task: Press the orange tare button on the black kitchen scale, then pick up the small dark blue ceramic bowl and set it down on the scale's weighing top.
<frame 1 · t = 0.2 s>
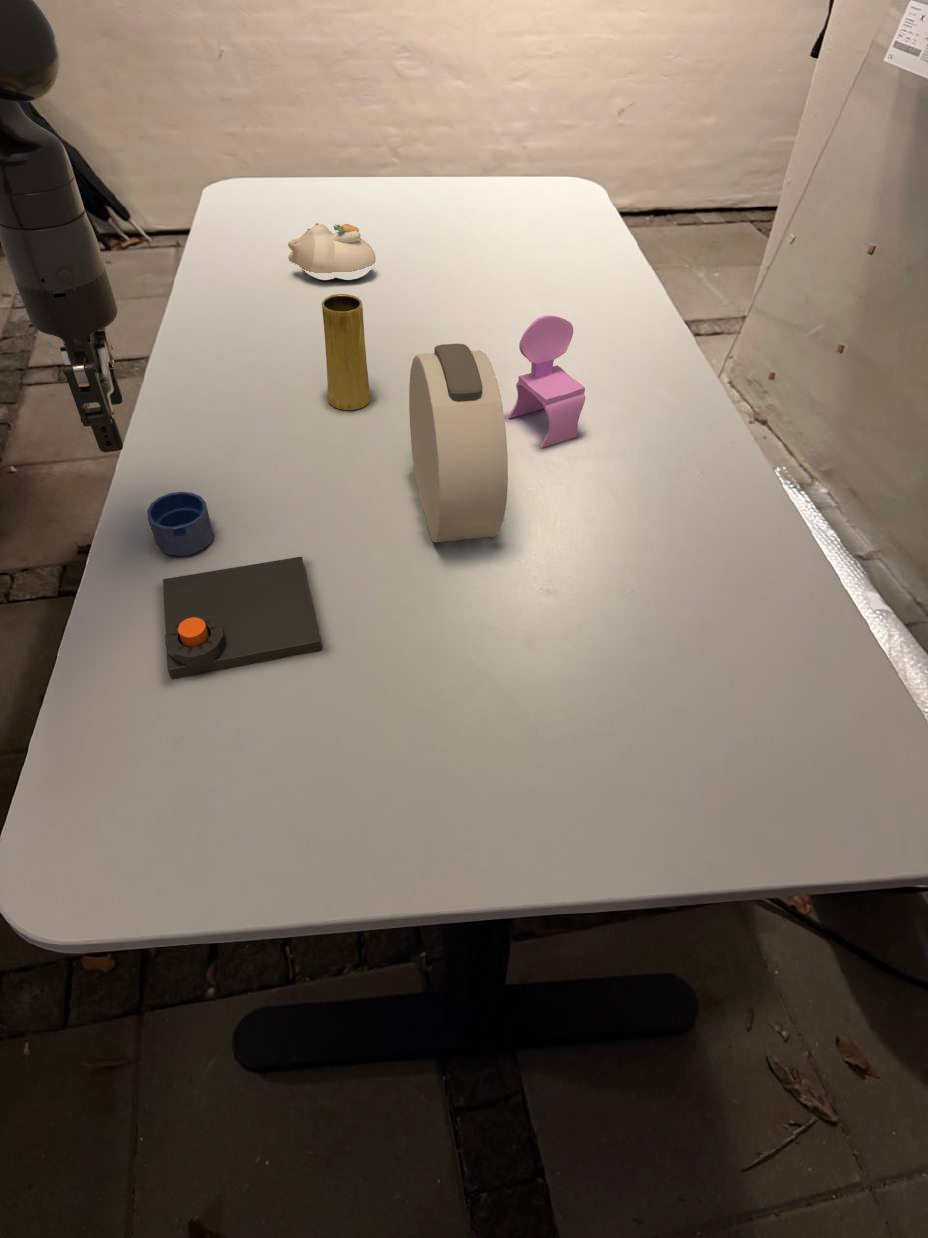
hand: (112, 425, 80), 15 cm above the table, tool pointing down, fingers open, 8 cm apart
scale: (241, 618, 82), on the table
alarm clock: (452, 504, 97), on the table
vase: (349, 400, 111), on the table
cat figurine: (333, 278, 137), on the table
tare button: (193, 632, 76), point 3 cm above the table, slide at 0.1 cm
toy chair: (543, 428, 109), on the table
bowl: (185, 539, 90), on the table
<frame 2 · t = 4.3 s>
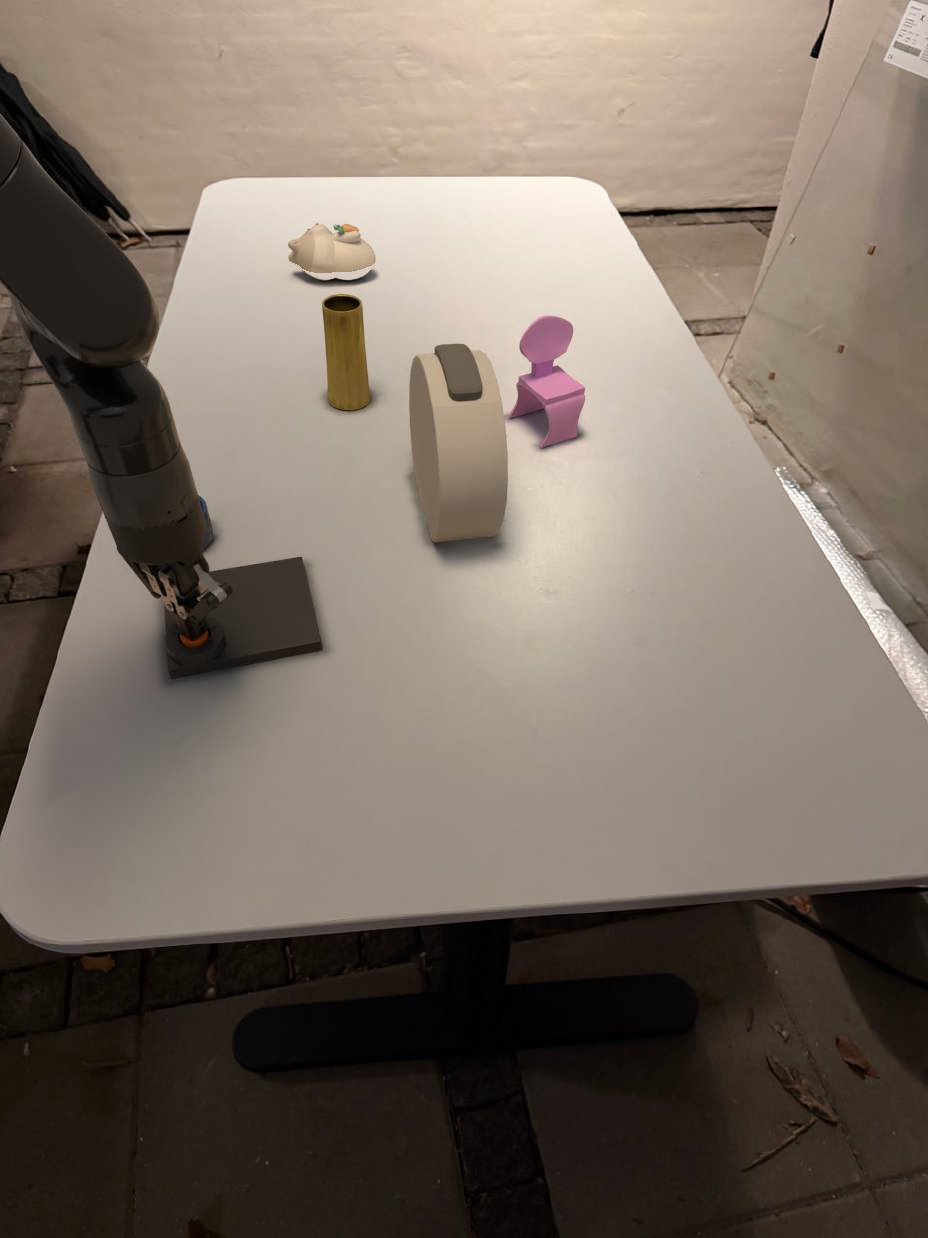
hand: (195, 633, 76), 3 cm above the table, tool pointing down, fingers closed
tare button: (195, 637, 77), point 3 cm above the table, slide at -0.7 cm, touching gripper
everything else where it was.
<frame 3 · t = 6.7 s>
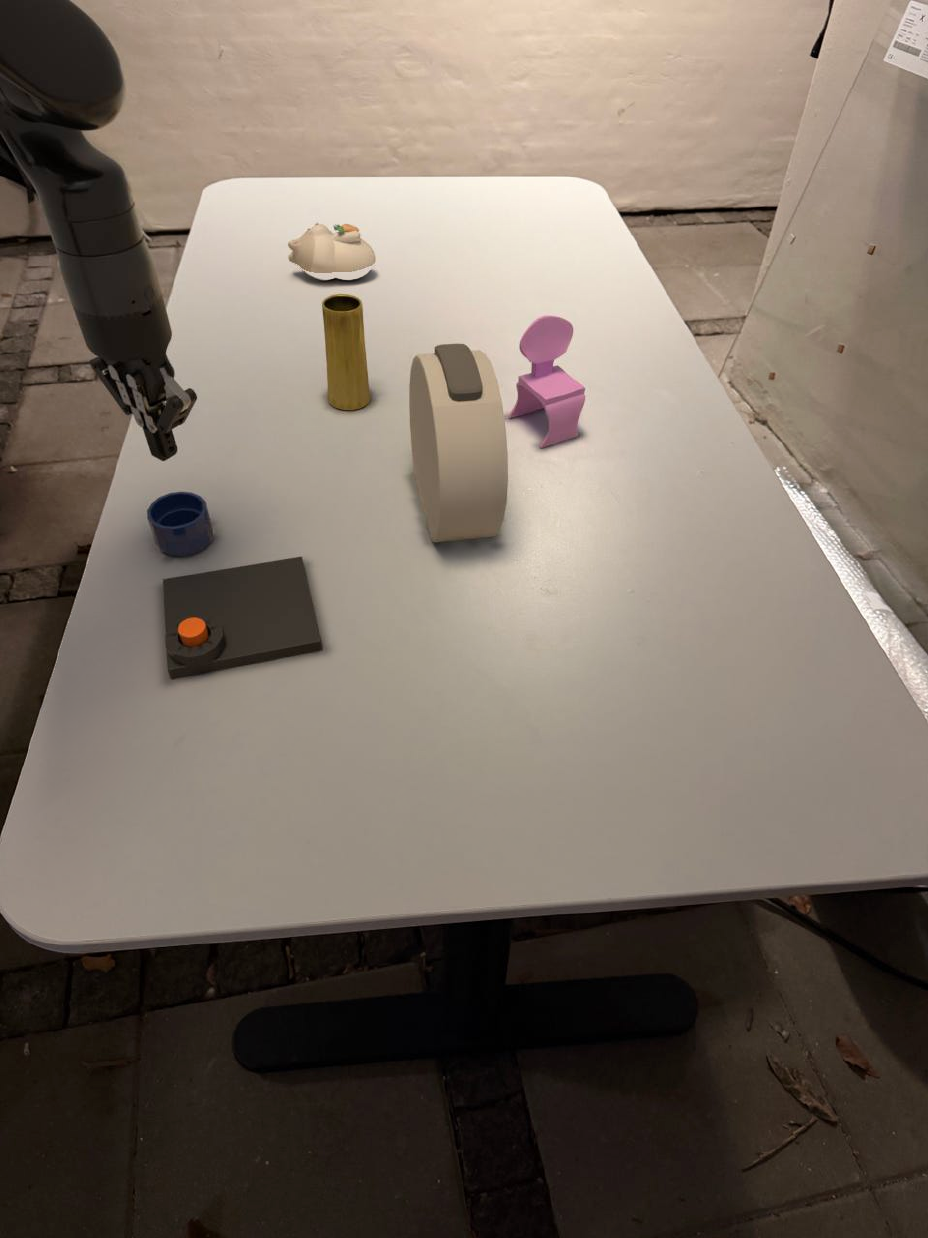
hand: (165, 455, 81), 12 cm above the table, tool pointing down, fingers closed
tare button: (193, 632, 76), point 3 cm above the table, slide at 0.1 cm
everything else where it was.
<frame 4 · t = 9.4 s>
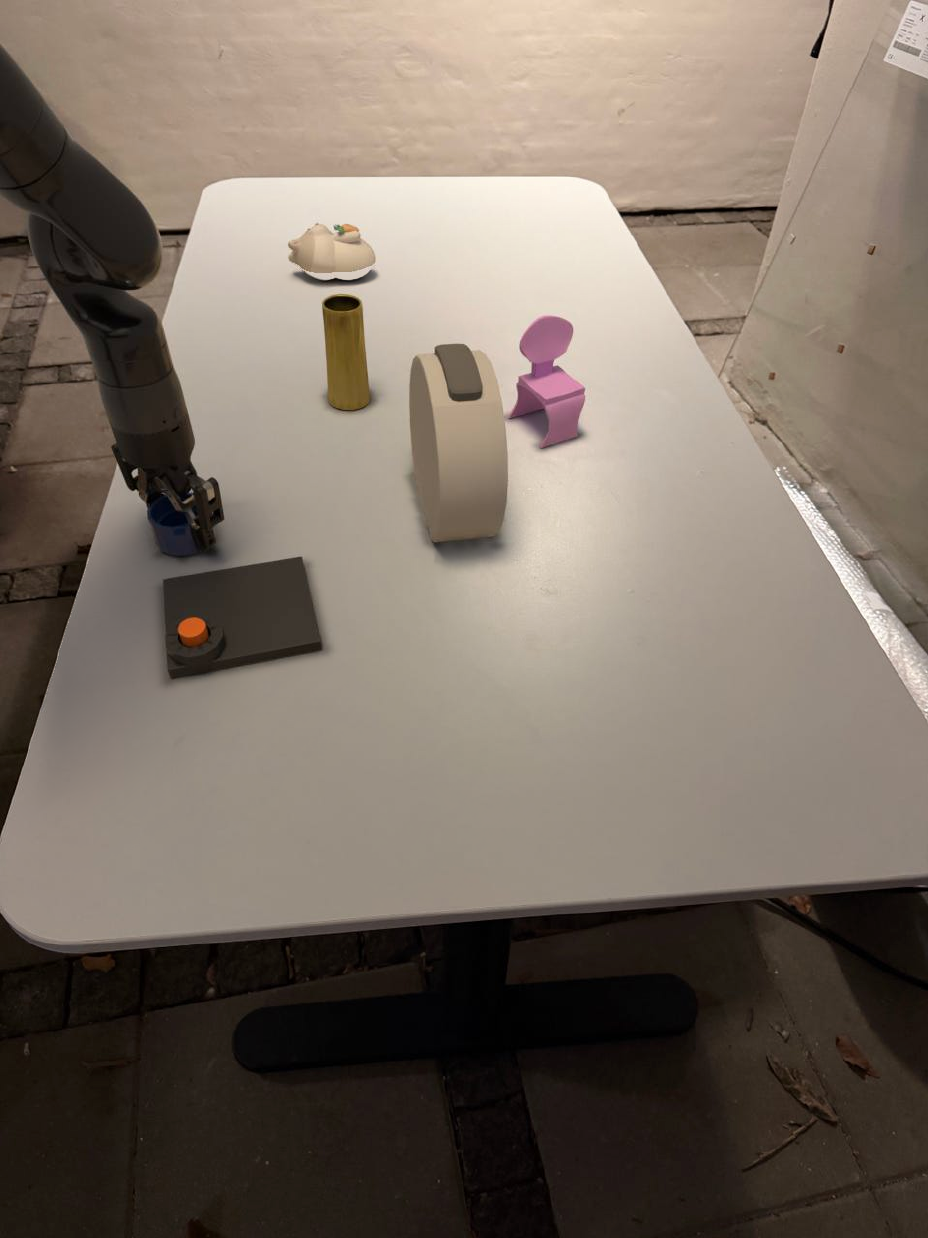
hand: (184, 534, 90), 1 cm above the table, tool pointing down, fingers closed on bowl, 6 cm apart
bowl: (185, 539, 90), on the table, touching gripper
everything else where it was.
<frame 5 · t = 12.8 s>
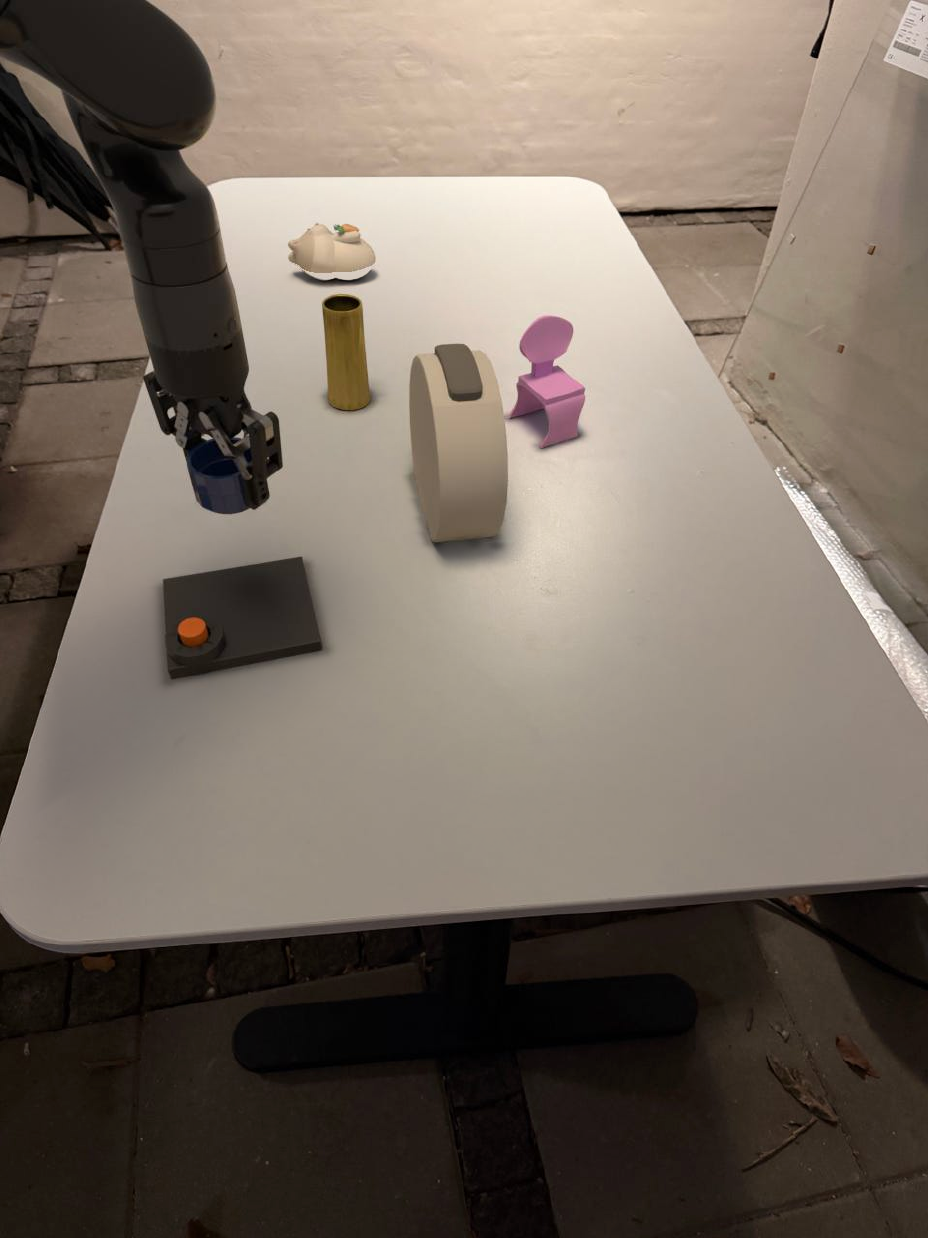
hand: (230, 489, 74), 15 cm above the table, tool pointing down, fingers closed on bowl, 6 cm apart
bowl: (231, 495, 74), point 14 cm above the table, touching gripper
everything else where it was.
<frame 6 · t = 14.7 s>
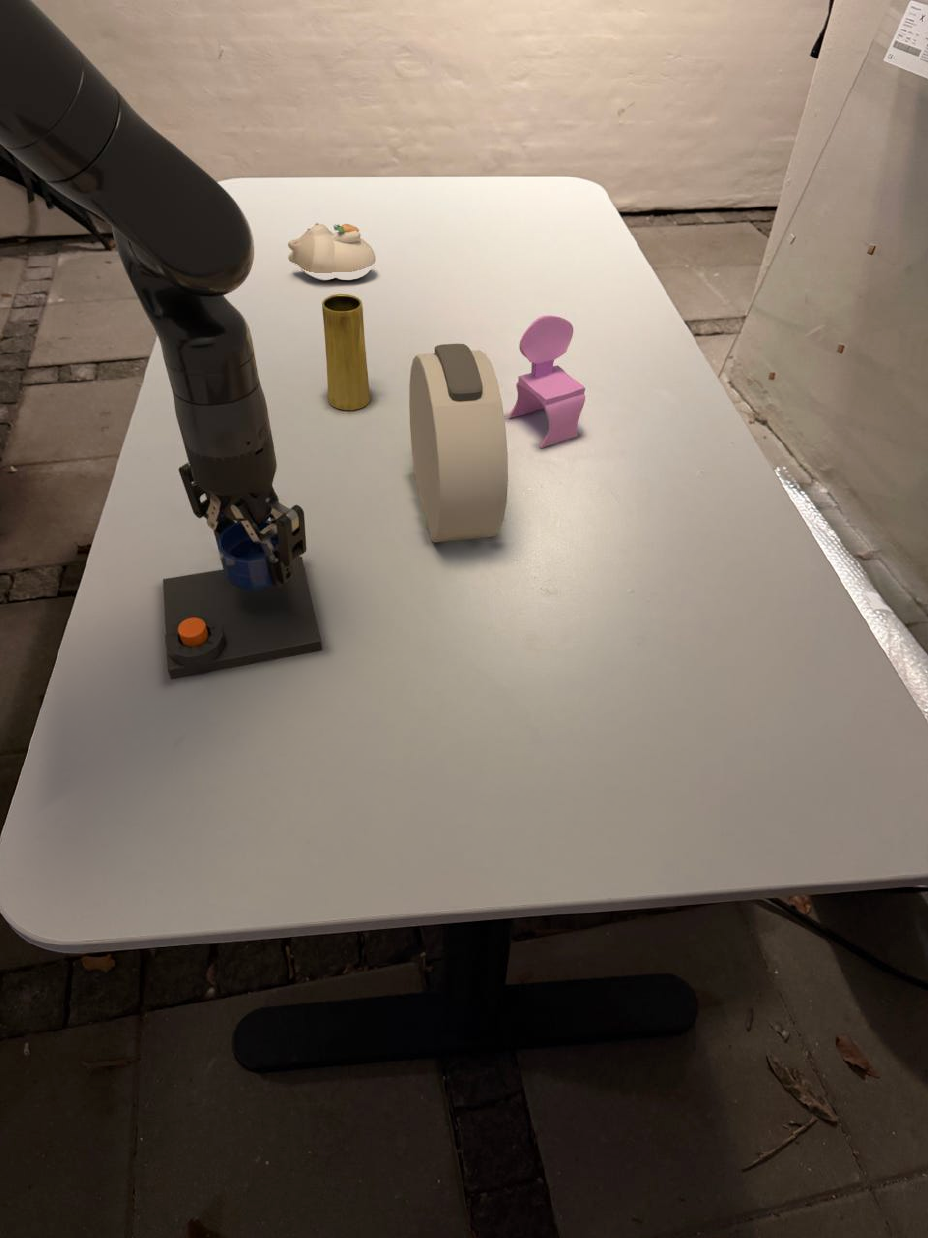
hand: (256, 566, 80), 6 cm above the table, tool pointing down, fingers closed on bowl, 6 cm apart
bowl: (257, 571, 80), point 5 cm above the table, touching gripper
everything else where it was.
when the fingers open (2 cm above the table, at t = 16.3 s): bowl stays where it is, resting on scale.
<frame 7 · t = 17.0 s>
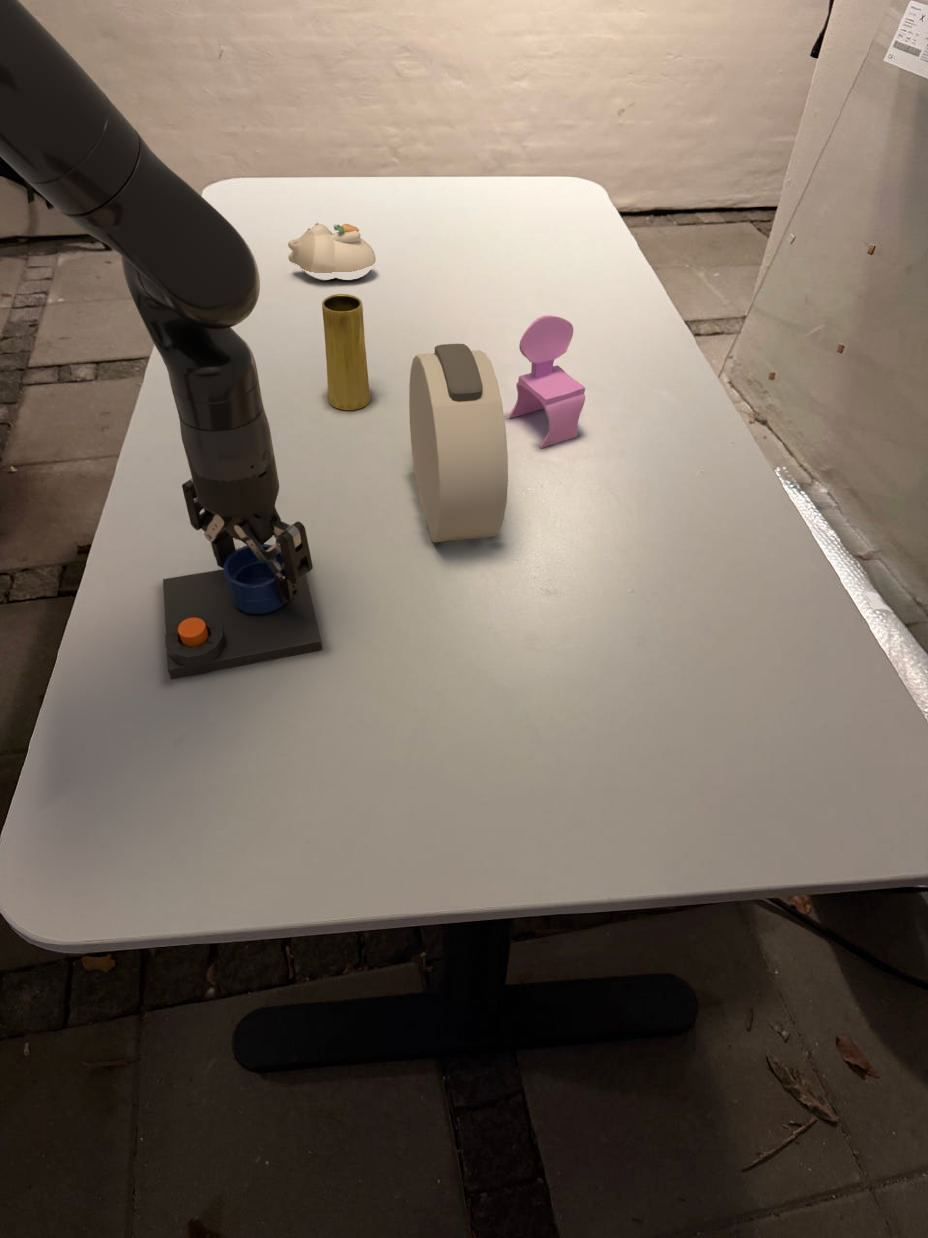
hand: (258, 580, 81), 4 cm above the table, tool pointing down, fingers open, 8 cm apart
bowl: (262, 595, 83), point 1 cm above the table, touching scale
everything else where it was.
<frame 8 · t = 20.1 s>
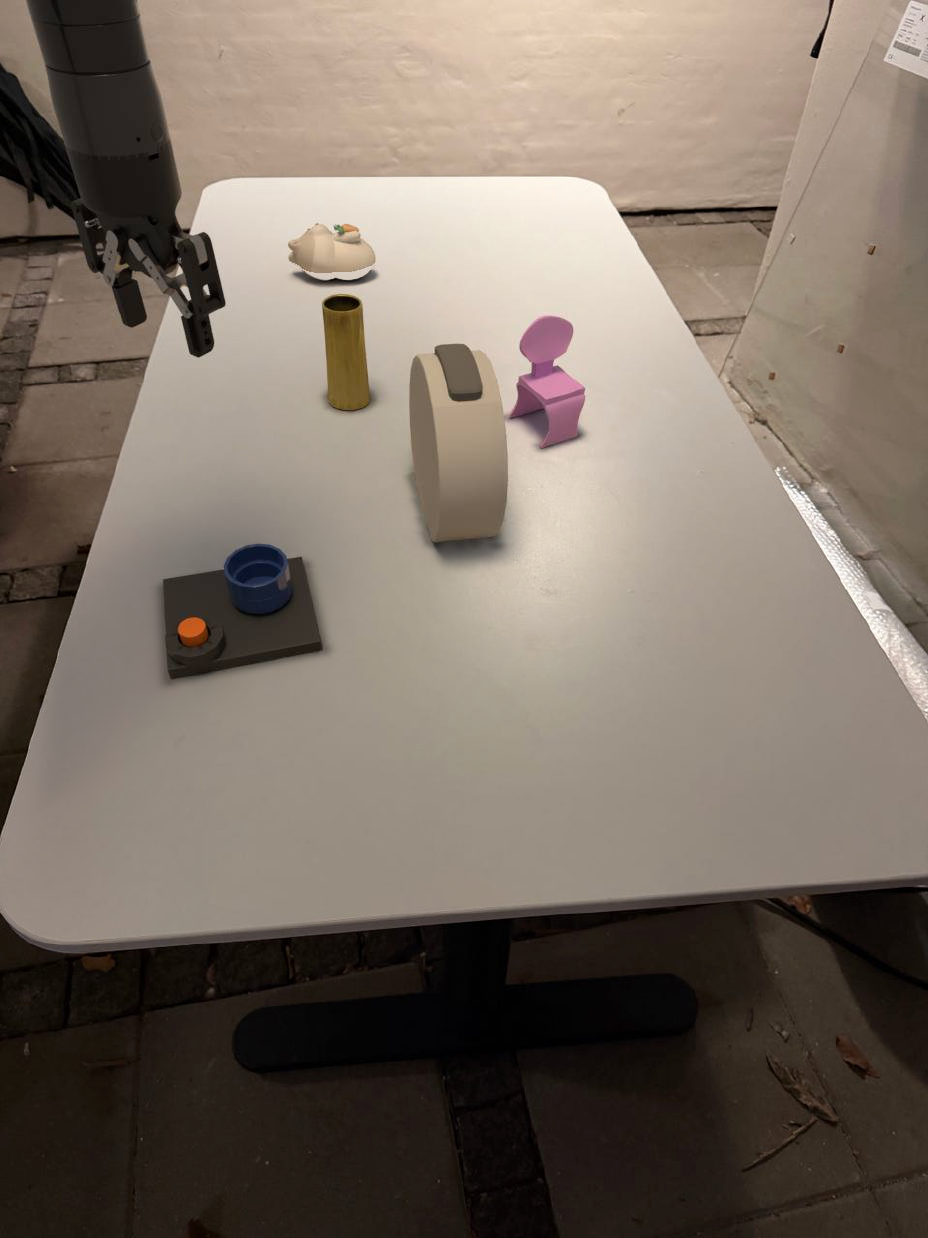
hand: (168, 338, 70), 26 cm above the table, tool pointing down, fingers open, 8 cm apart
nothing on the table moved.
at the end: tare button pushed in 0.9 cm at the most during the clip, back to where it started at the end; bowl inside the target area on the scale (2.9 cm from its centre), point 1.4 cm above the scale's base; bowl tilted 0° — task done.
